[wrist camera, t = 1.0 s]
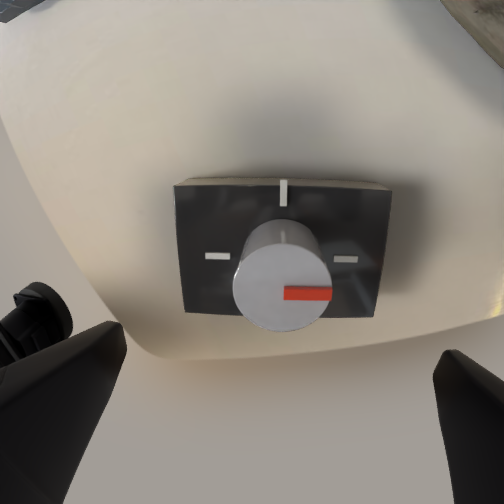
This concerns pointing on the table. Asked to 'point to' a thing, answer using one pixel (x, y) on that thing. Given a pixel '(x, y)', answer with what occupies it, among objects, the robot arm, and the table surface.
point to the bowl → (482, 23)
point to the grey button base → (15, 8)
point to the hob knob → (282, 277)
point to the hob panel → (271, 208)
